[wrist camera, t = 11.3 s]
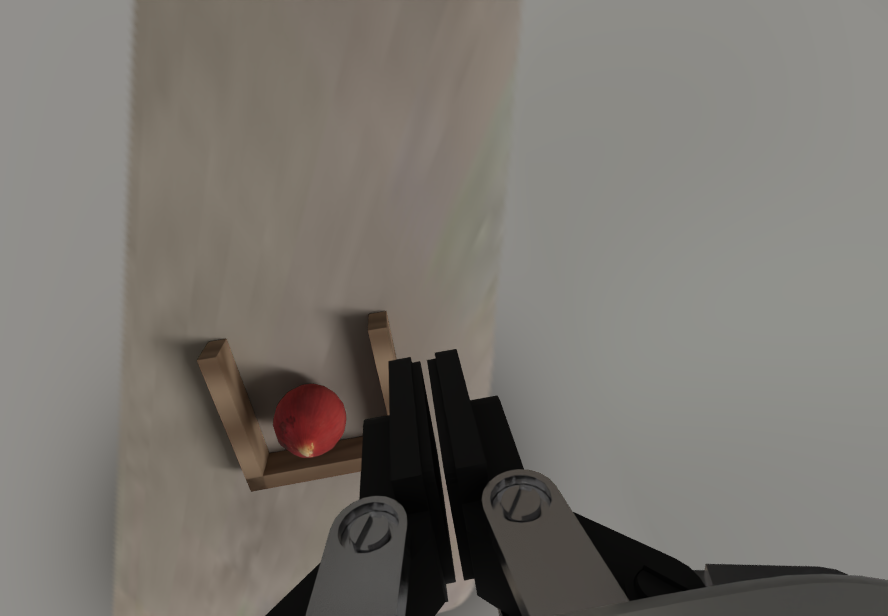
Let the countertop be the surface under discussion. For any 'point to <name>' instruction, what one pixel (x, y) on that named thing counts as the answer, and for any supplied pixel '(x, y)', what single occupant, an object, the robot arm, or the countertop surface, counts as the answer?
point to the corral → (247, 434)
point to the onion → (309, 420)
